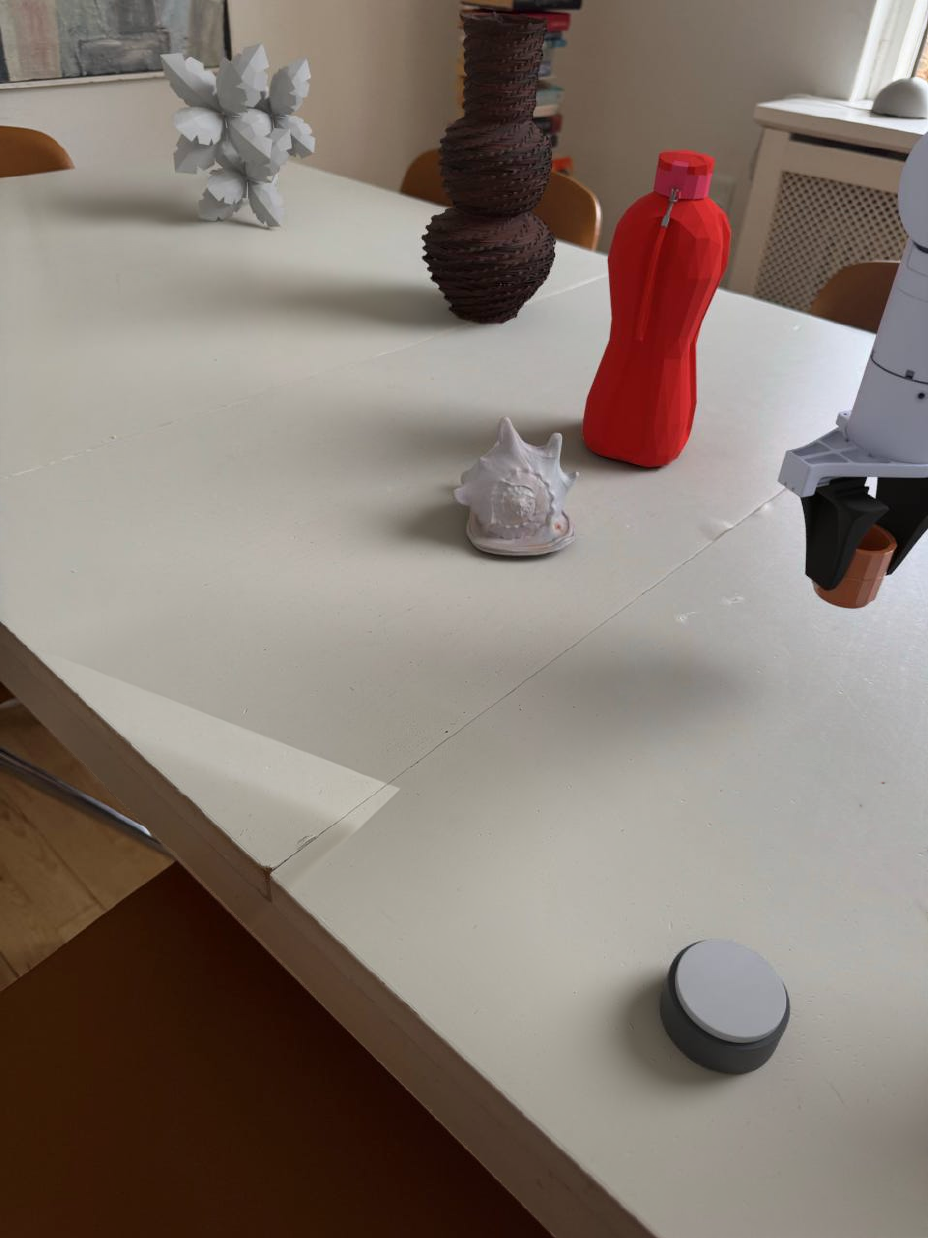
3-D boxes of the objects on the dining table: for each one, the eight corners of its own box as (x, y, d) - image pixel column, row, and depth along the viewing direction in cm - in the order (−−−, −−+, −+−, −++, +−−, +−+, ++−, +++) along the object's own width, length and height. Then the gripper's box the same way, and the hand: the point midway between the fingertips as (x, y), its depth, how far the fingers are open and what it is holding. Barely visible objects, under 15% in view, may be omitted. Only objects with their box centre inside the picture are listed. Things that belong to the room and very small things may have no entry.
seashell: (461, 567, 72) (469, 454, 66) (428, 487, 81) (433, 382, 75) (590, 556, 74) (608, 446, 68) (543, 479, 83) (556, 377, 78)
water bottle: (563, 462, 86) (605, 158, 71) (601, 415, 94) (646, 133, 79) (664, 488, 83) (730, 178, 68) (694, 438, 91) (759, 151, 76)
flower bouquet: (368, 192, 154) (366, 40, 141) (261, 249, 128) (247, 69, 116) (271, 178, 158) (262, 29, 145) (149, 229, 133) (125, 54, 120)
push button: (795, 1006, 45) (810, 975, 43) (752, 1099, 41) (766, 1069, 40) (689, 944, 47) (700, 913, 46) (639, 1027, 44) (649, 996, 42)
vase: (561, 335, 110) (599, 30, 92) (428, 335, 108) (440, 21, 90) (533, 289, 122) (562, 11, 104) (412, 289, 120) (420, 3, 102)
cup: (882, 590, 61) (904, 534, 59) (863, 619, 59) (886, 562, 56) (821, 567, 63) (840, 511, 60) (800, 594, 60) (818, 537, 58)
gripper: (963, 325, 57) (889, 521, 65) (770, 351, 52) (715, 561, 60) (1066, 371, 52) (971, 577, 60) (863, 405, 47) (789, 626, 55)
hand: (848, 573), depth 60 cm, fingers closed on cup, 4 cm apart
